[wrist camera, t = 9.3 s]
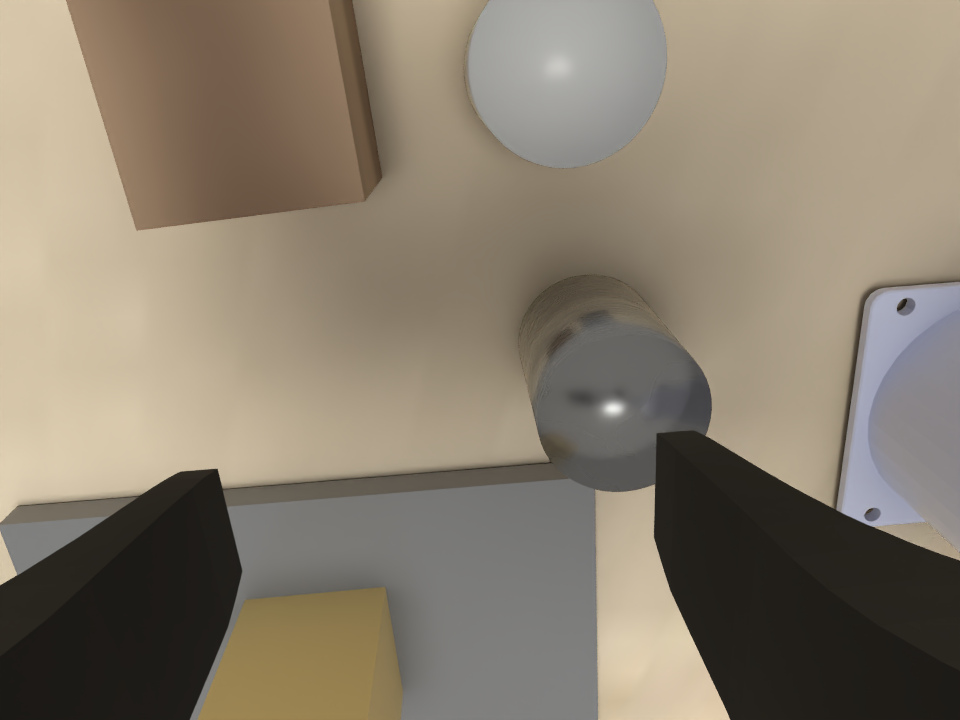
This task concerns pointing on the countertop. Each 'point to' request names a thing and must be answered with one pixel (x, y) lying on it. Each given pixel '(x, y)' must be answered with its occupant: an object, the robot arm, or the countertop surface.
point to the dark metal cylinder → (607, 382)
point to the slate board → (418, 577)
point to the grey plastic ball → (565, 75)
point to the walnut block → (230, 105)
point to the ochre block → (309, 660)
